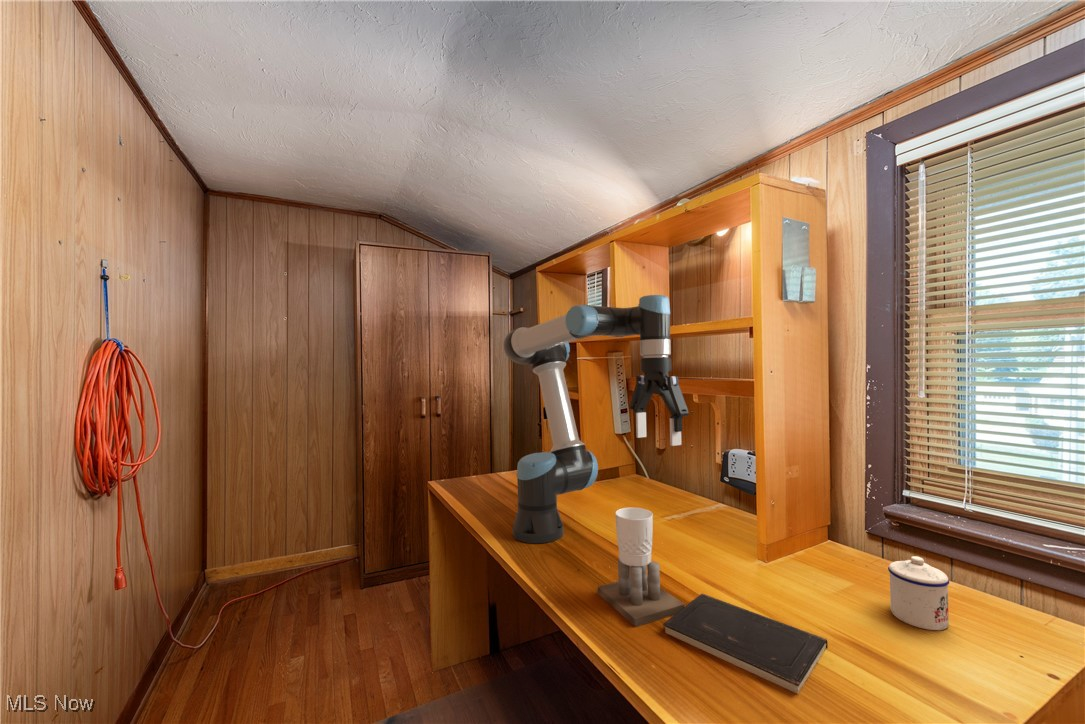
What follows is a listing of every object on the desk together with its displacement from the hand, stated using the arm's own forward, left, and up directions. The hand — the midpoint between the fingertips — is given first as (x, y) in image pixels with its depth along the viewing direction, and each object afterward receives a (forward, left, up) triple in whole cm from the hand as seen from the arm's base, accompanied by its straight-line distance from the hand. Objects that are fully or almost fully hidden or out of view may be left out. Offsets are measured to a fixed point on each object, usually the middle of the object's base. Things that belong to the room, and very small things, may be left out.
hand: (657, 441), depth 114 cm
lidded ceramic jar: (+41, +30, -31) cm, 59 cm away
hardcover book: (+32, -7, -31) cm, 45 cm away
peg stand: (+13, -16, -31) cm, 37 cm away
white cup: (+12, -16, -22) cm, 30 cm away
